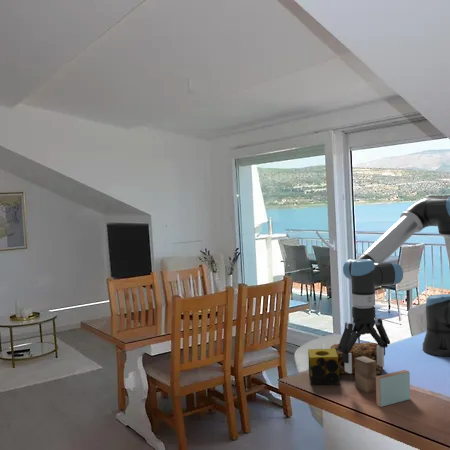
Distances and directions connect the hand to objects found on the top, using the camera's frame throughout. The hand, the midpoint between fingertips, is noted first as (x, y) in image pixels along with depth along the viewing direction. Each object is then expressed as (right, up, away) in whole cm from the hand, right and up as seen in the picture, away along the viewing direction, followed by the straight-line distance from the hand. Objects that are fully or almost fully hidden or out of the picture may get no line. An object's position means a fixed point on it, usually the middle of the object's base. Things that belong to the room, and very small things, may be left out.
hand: (364, 368), depth 170 cm
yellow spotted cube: (-12, -7, +10) cm, 17 cm away
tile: (+6, -7, -11) cm, 15 cm away
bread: (+2, -6, +19) cm, 20 cm away
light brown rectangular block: (+1, -7, 0) cm, 7 cm away
